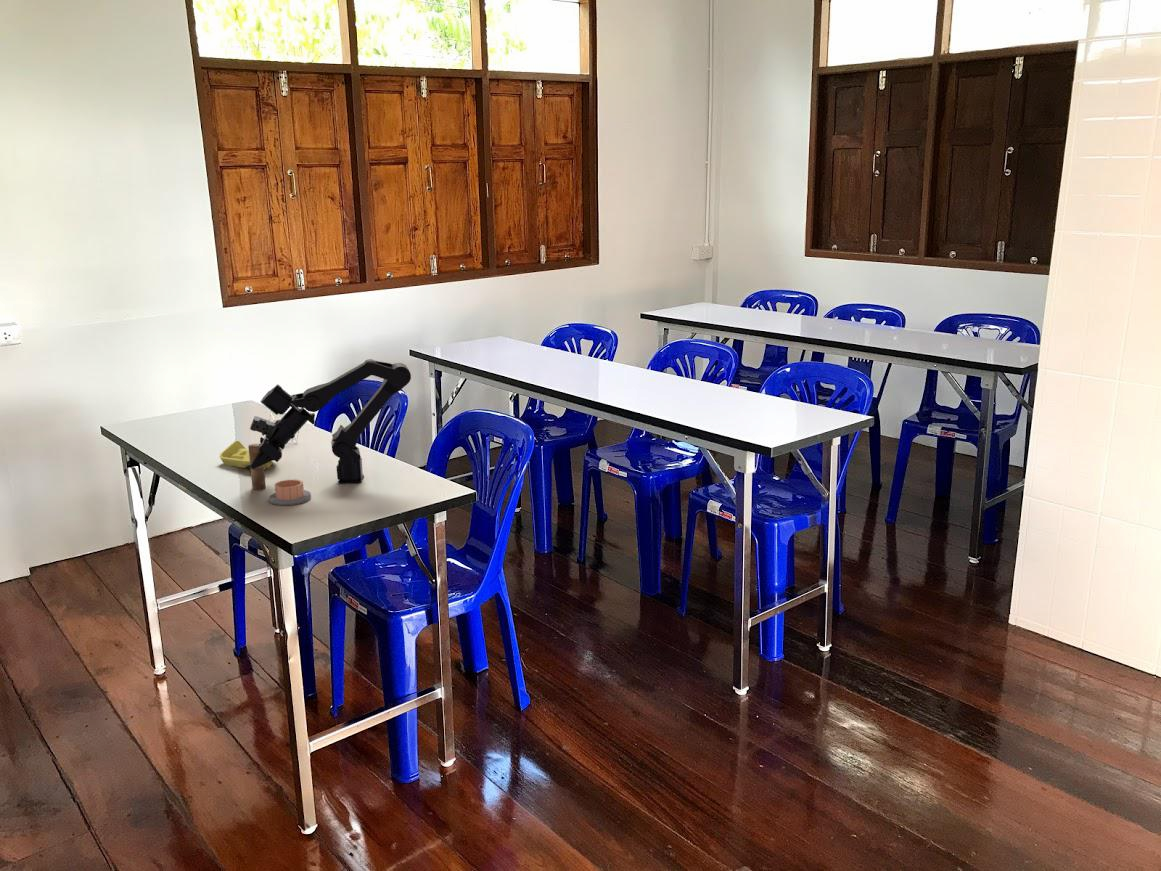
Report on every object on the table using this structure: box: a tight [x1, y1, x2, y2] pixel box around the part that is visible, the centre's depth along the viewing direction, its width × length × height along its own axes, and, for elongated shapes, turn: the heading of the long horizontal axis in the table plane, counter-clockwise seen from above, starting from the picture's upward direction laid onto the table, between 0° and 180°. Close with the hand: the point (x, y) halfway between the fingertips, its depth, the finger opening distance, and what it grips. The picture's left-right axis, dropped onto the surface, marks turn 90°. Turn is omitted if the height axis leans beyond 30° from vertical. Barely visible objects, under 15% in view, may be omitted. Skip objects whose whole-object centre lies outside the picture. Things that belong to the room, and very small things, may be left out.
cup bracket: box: [268, 478, 312, 507], centre depth 263 cm, size 11×11×4 cm
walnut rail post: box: [247, 443, 267, 491], centre depth 272 cm, size 4×4×12 cm
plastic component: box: [219, 440, 273, 470], centre depth 296 cm, size 20×7×10 cm
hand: (251, 465), depth 272 cm, fingers closed on walnut rail post, 4 cm apart
